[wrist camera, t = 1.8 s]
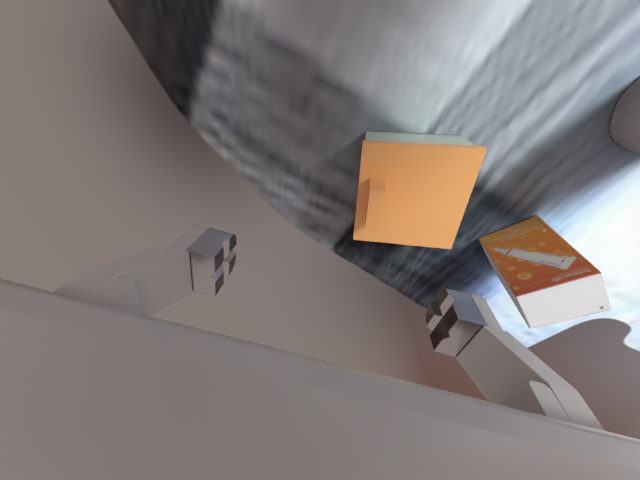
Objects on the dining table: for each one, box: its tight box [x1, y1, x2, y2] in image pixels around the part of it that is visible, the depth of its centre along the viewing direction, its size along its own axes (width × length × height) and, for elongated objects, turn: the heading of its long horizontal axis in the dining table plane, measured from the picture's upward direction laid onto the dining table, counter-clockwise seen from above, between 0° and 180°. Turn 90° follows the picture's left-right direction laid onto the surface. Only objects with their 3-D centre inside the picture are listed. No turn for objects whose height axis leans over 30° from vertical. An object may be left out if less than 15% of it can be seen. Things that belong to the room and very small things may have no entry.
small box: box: [479, 216, 611, 328], centre depth 34 cm, size 8×6×13 cm
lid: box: [353, 140, 487, 249], centre depth 30 cm, size 13×13×6 cm
